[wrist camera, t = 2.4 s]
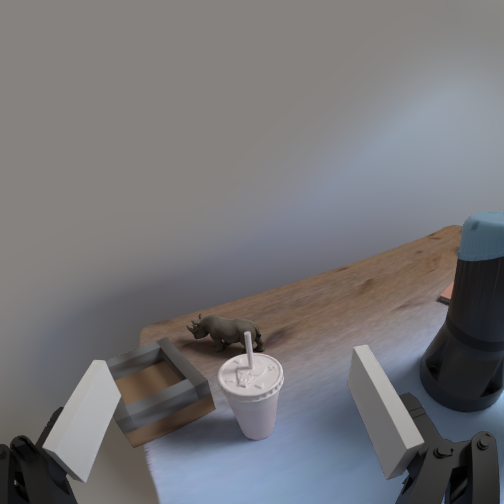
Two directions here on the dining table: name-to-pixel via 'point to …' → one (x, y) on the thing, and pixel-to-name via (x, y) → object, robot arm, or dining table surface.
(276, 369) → the smoothie
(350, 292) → the dining table surface
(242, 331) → the rhino figurine
